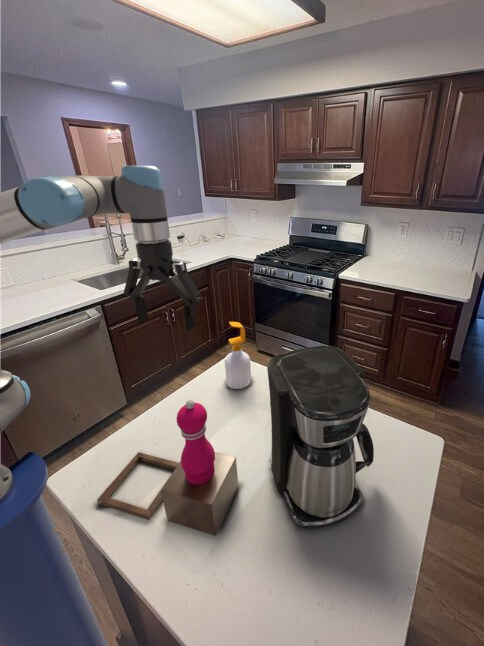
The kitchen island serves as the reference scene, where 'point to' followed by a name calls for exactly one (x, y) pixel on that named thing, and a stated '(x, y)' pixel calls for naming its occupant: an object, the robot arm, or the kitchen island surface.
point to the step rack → (184, 494)
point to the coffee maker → (318, 432)
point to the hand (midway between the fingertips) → (167, 324)
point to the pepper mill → (195, 443)
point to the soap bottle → (237, 362)
